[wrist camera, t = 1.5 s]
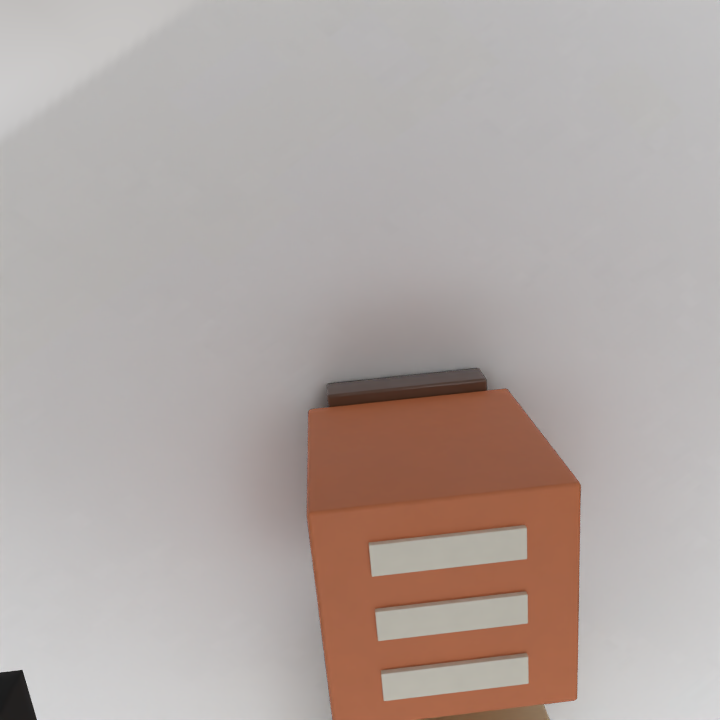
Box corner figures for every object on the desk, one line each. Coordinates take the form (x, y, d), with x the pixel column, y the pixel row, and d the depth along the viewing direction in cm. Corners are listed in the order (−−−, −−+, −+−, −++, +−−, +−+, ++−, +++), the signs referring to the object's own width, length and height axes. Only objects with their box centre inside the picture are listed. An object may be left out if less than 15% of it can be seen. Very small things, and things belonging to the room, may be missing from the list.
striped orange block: (307, 408, 15) (305, 517, 11) (507, 387, 15) (584, 486, 11) (328, 579, 17) (333, 736, 12) (510, 558, 17) (580, 706, 12)
